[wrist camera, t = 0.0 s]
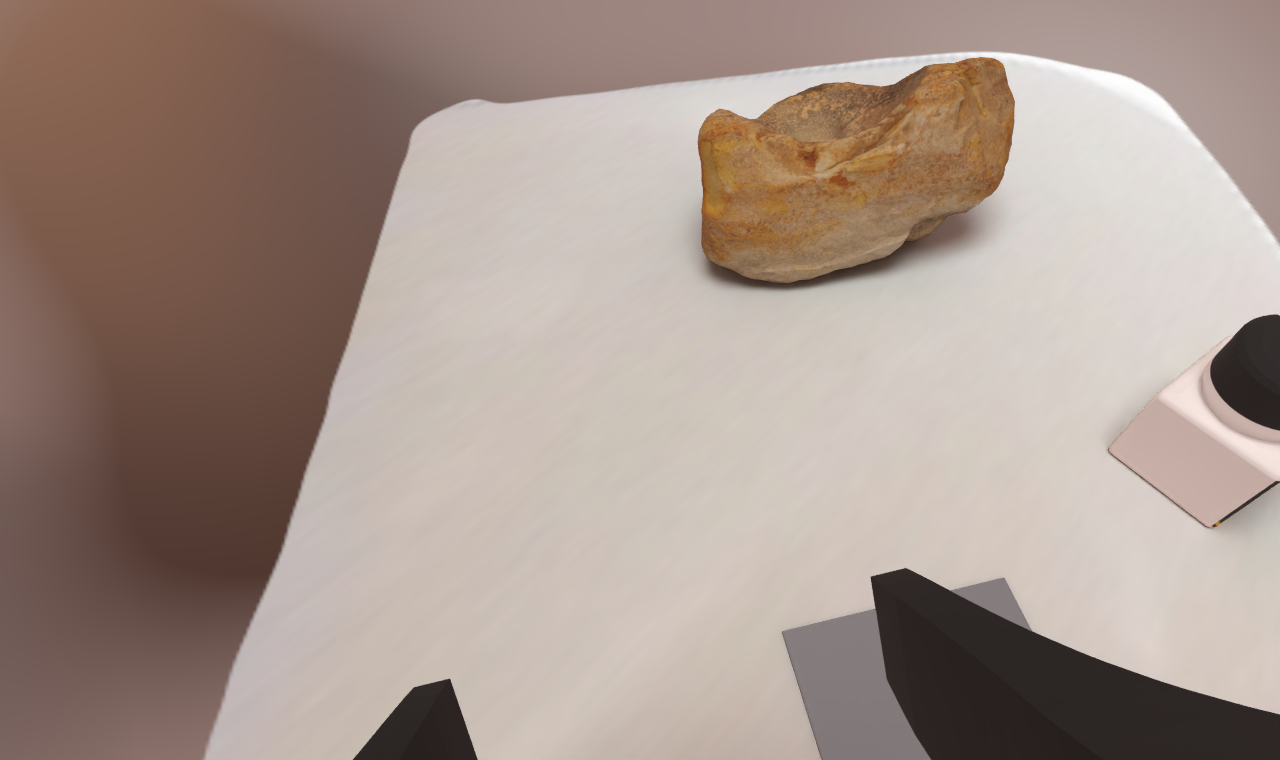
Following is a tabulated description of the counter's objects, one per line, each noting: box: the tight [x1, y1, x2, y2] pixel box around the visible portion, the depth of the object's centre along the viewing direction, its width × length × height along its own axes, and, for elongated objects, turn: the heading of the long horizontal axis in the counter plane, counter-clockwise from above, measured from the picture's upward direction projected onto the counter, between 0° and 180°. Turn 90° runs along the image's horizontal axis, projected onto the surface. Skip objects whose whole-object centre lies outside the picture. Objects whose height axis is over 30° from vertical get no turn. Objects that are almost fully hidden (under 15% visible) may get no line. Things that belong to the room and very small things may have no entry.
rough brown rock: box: [698, 57, 1015, 283], centre depth 56 cm, size 23×17×15 cm
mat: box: [782, 578, 1032, 760], centre depth 38 cm, size 15×14×1 cm
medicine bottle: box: [1109, 314, 1280, 528], centre depth 41 cm, size 7×7×12 cm
